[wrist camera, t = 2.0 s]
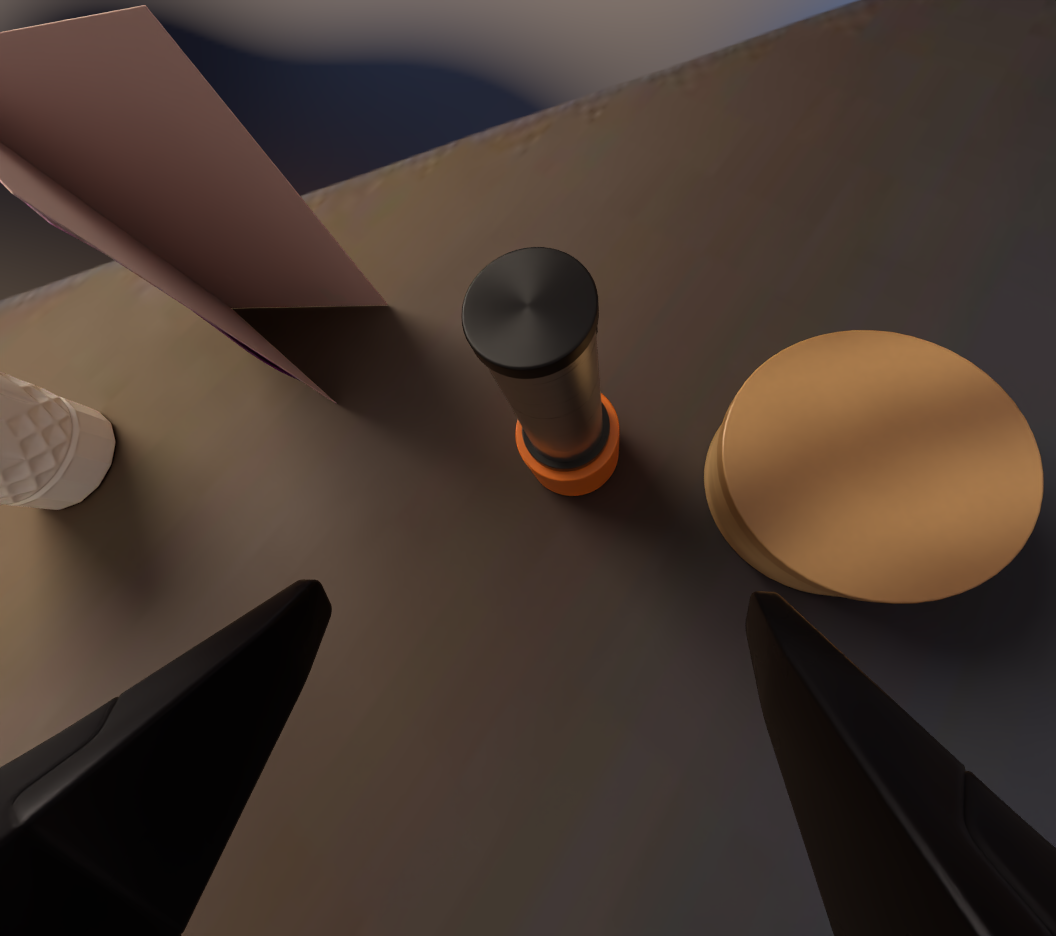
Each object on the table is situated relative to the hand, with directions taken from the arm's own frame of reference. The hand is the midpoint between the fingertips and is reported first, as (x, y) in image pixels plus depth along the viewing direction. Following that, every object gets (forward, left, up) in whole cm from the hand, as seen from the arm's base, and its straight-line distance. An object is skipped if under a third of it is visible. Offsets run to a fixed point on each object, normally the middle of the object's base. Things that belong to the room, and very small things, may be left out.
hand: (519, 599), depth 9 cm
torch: (+6, -3, -13) cm, 15 cm away
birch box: (-1, -12, -13) cm, 18 cm away
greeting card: (+22, +7, -13) cm, 26 cm away
